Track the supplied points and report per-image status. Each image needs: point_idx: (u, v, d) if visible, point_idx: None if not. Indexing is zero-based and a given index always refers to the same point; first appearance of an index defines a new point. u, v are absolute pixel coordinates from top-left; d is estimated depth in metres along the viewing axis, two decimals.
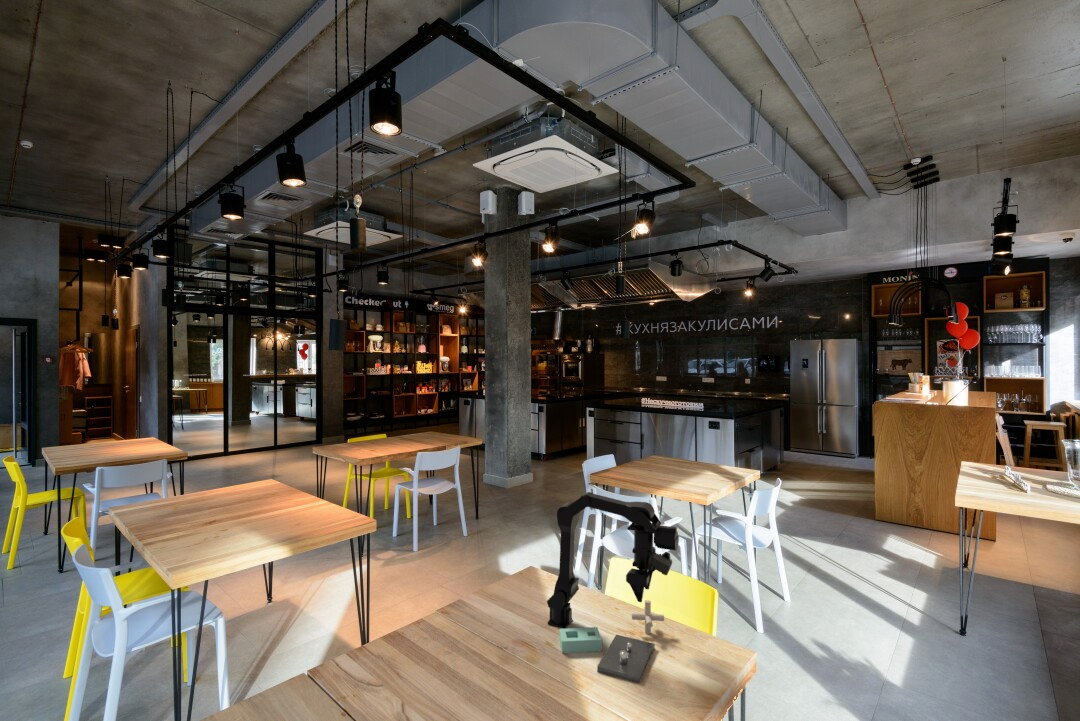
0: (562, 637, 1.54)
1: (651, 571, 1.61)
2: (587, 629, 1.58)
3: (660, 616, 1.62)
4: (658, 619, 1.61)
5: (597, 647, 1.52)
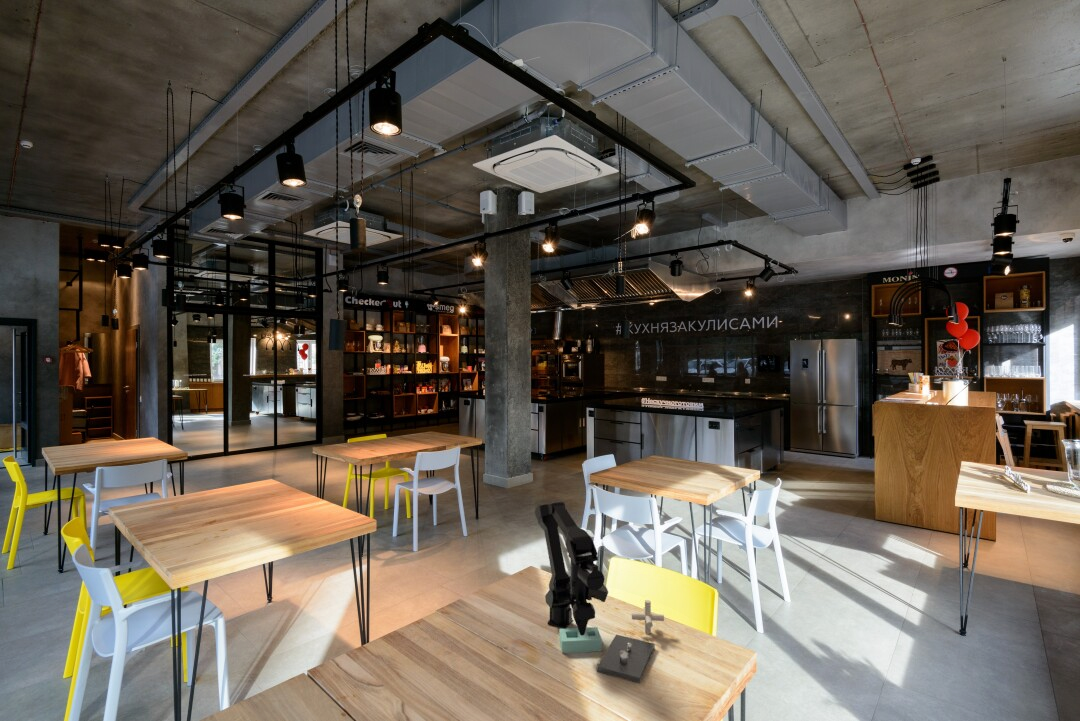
0: (562, 637, 1.54)
1: None
2: (587, 629, 1.58)
3: (660, 616, 1.62)
4: (658, 619, 1.61)
5: (597, 647, 1.52)
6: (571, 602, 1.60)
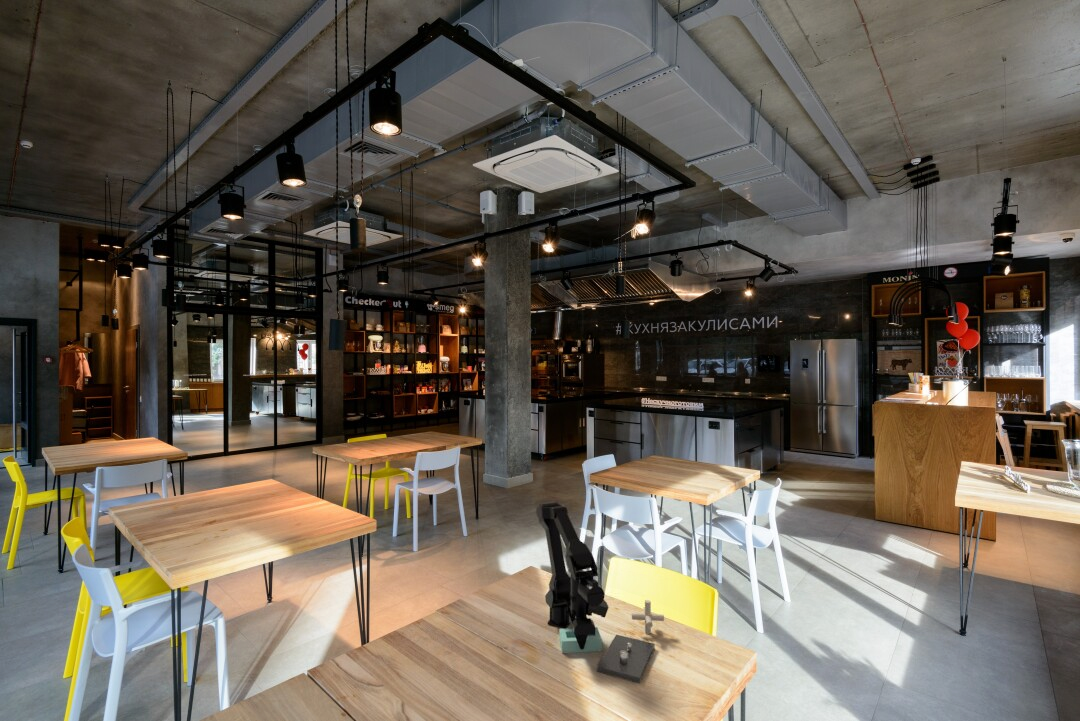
0: (562, 637, 1.54)
1: None
2: None
3: (660, 616, 1.62)
4: (658, 619, 1.61)
5: (597, 647, 1.52)
6: (572, 618, 1.59)
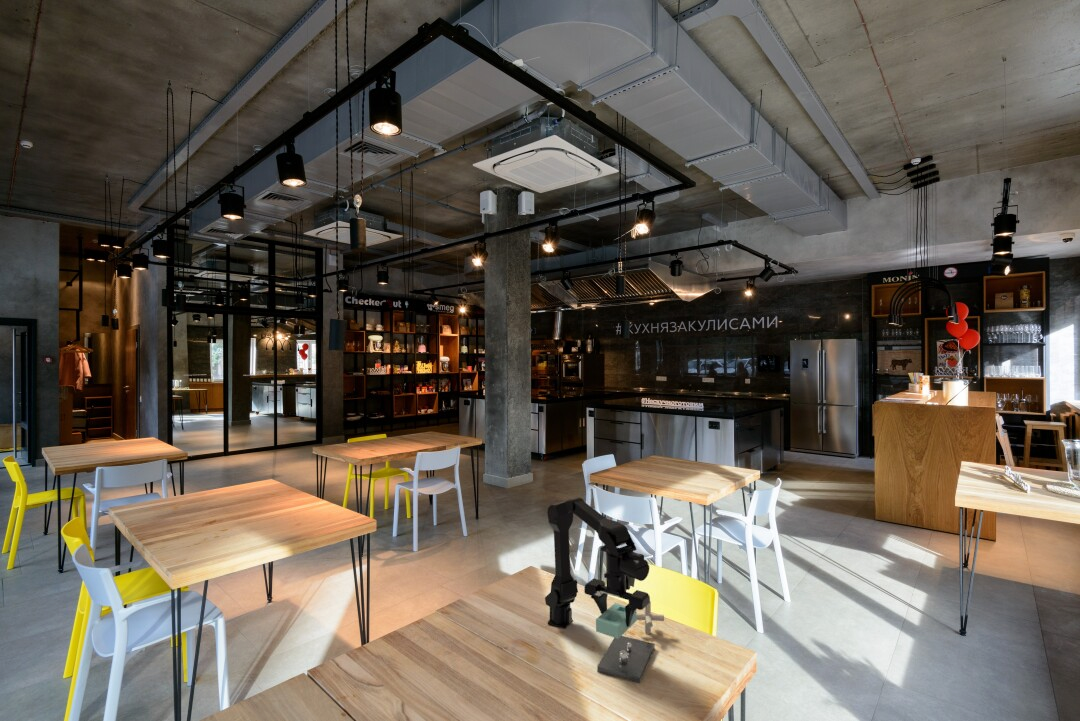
0: (611, 623, 1.43)
1: (606, 597, 1.52)
2: (613, 608, 1.52)
3: (660, 616, 1.62)
4: (658, 619, 1.61)
5: (634, 618, 1.50)
6: (601, 603, 1.49)
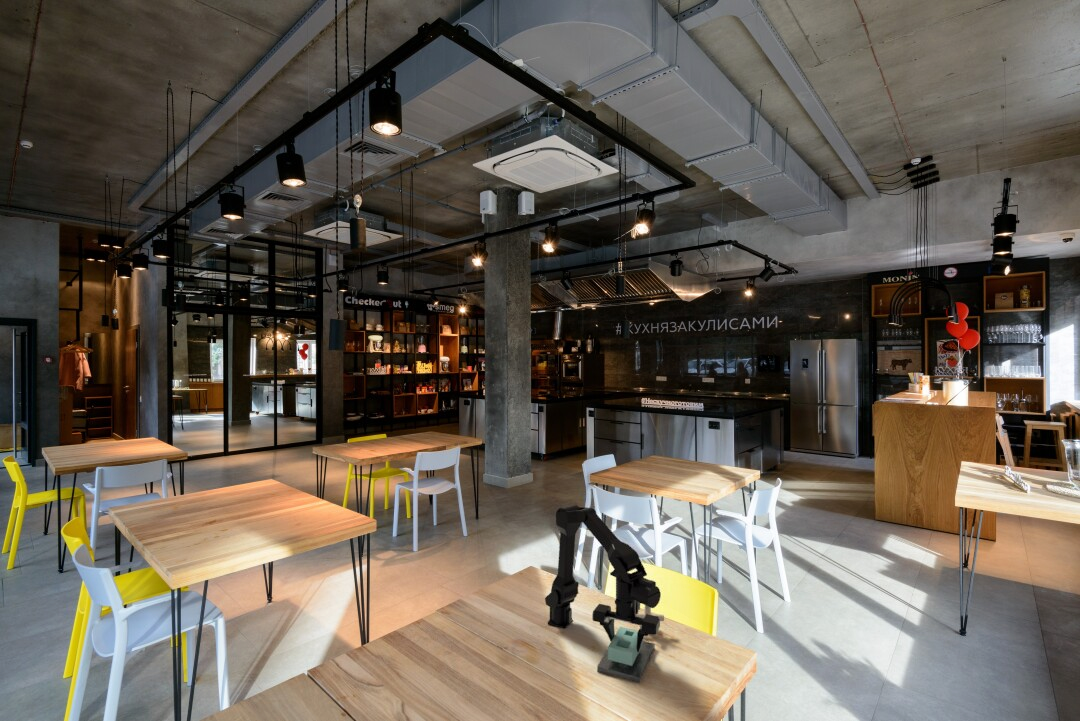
0: (625, 650, 1.41)
1: (613, 622, 1.50)
2: (620, 632, 1.51)
3: (660, 616, 1.62)
4: None
5: None
6: (610, 630, 1.47)
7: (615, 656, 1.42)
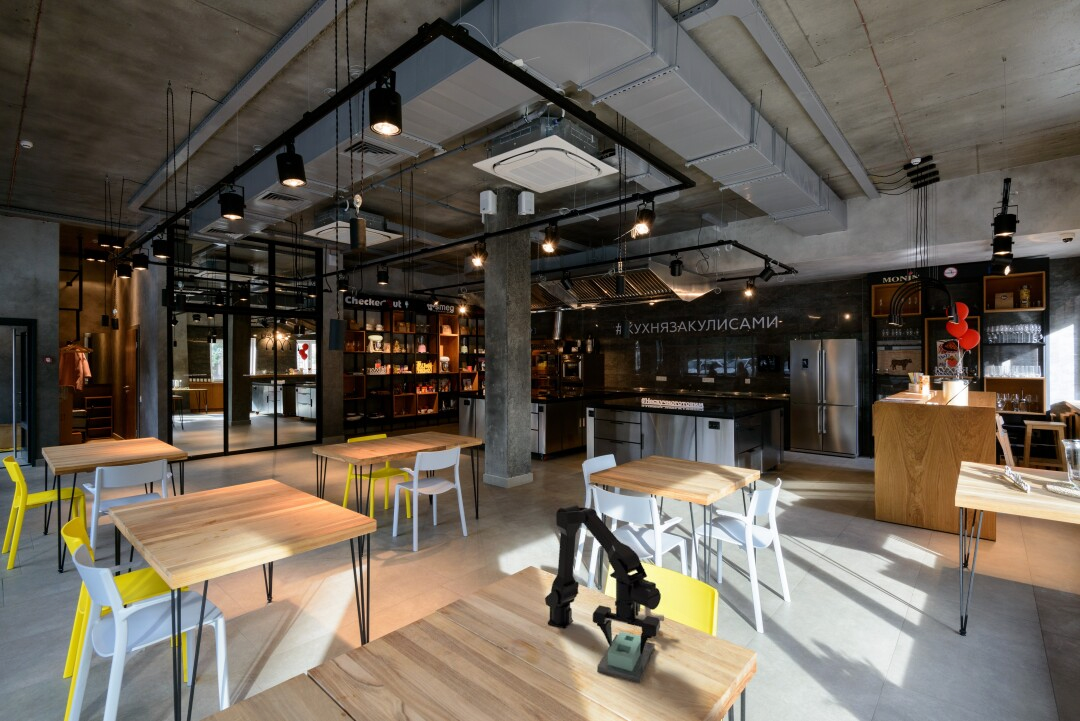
0: (625, 655, 1.41)
1: (610, 623, 1.50)
2: (620, 637, 1.51)
3: (660, 616, 1.62)
4: None
5: None
6: (607, 631, 1.47)
7: (615, 661, 1.42)
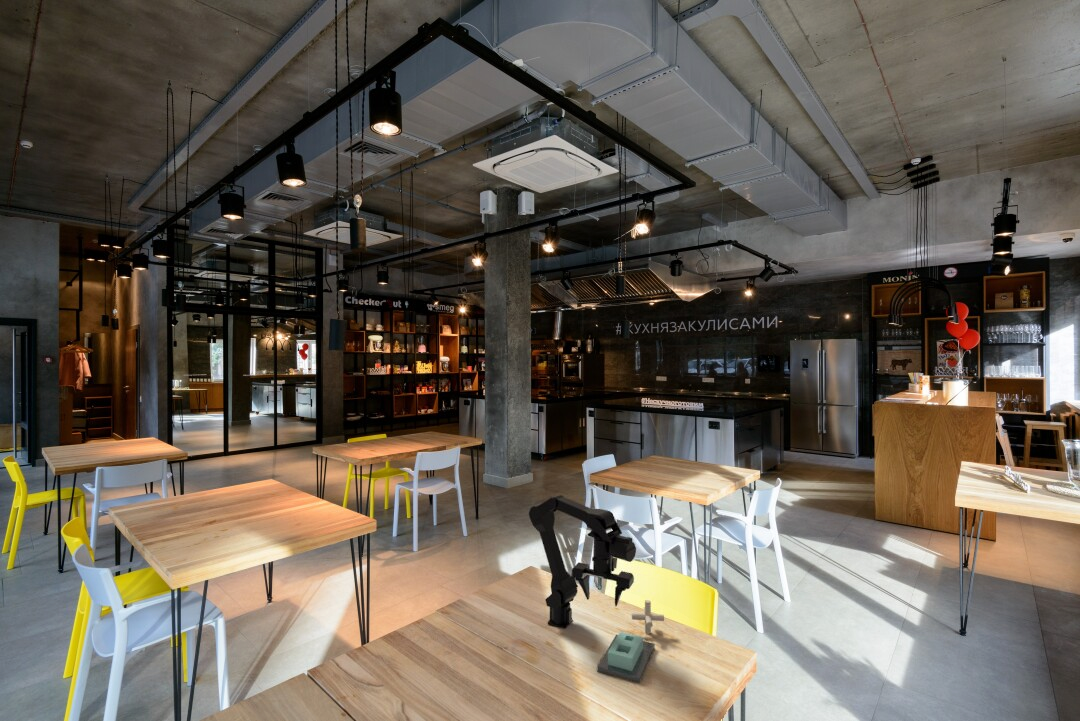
0: (625, 655, 1.41)
1: (588, 579, 1.62)
2: (620, 637, 1.51)
3: (660, 616, 1.62)
4: (658, 619, 1.61)
5: (641, 647, 1.50)
6: (585, 585, 1.59)
7: (615, 661, 1.42)
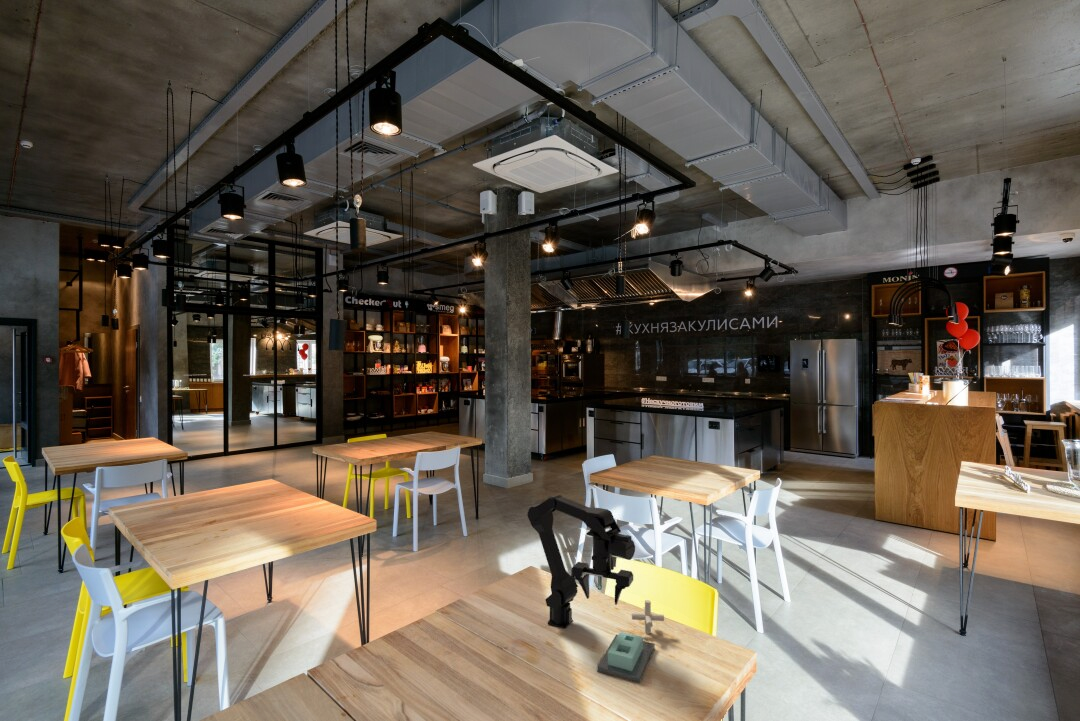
0: (625, 655, 1.41)
1: (588, 578, 1.62)
2: (620, 637, 1.51)
3: (660, 616, 1.62)
4: (658, 619, 1.61)
5: (641, 647, 1.50)
6: (585, 584, 1.59)
7: (615, 661, 1.42)
